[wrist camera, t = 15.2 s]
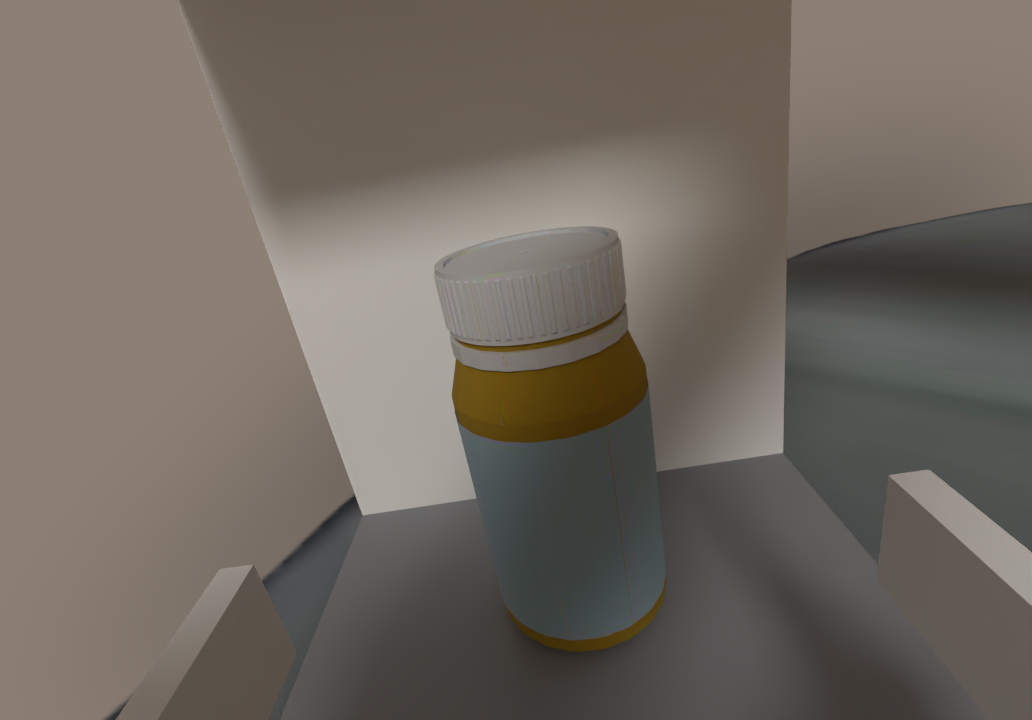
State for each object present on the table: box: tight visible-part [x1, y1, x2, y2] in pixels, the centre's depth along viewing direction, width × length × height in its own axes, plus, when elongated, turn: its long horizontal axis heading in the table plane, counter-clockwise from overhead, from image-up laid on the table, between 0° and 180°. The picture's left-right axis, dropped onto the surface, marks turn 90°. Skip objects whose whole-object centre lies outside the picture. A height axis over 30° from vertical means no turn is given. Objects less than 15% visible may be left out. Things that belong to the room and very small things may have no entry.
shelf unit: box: [176, 0, 989, 720], centre depth 19 cm, size 16×24×30 cm, turn 90°
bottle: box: [433, 226, 666, 652], centre depth 20 cm, size 7×7×15 cm
